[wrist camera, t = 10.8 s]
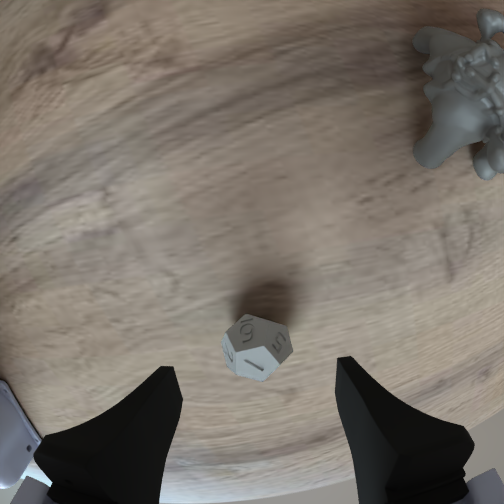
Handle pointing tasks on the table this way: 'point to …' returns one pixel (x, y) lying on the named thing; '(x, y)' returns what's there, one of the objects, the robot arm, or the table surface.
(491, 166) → the elephant statuette
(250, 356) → the game die
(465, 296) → the table surface
